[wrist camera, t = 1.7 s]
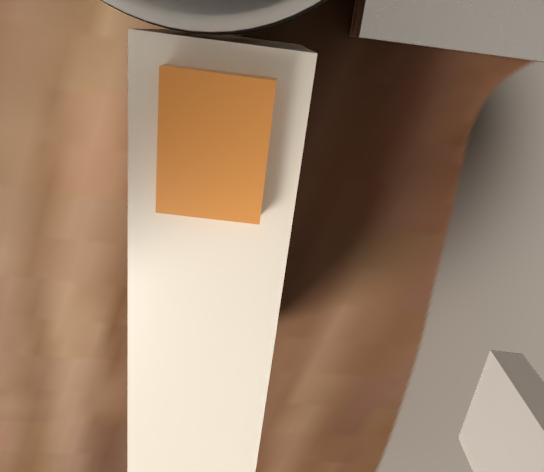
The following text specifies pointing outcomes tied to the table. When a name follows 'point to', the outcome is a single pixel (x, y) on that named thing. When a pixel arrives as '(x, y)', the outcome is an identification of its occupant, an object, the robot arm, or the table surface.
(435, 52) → the table surface
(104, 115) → the table surface
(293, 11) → the mug
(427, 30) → the rail
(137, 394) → the white block
